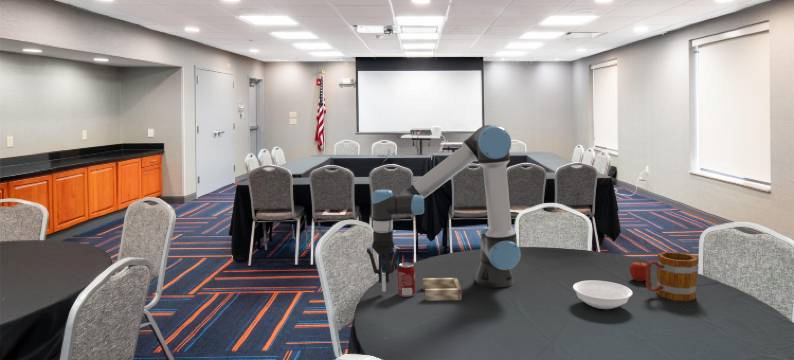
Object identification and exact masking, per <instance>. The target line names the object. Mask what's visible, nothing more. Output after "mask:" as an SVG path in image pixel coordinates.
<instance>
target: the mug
mask: <svg viewBox="0 0 794 360" xmlns="http://www.w3.org/2000/svg"><path fill="white" fill-rule="evenodd" d="M698 263H699V258H697V257H696V256H695V255H693V254H688V253H683V252H681V251H680V252H679V251H678V252H677V251H663V252H660V253H657V261H655V260H650V261H648V262H647V263H646V264H647V265H646V280H645V286H646V288H647V290H648V291H650V292H655V293H656V294H657V295H658V296H659V297H661V298H665V299H668V300H671V301H677V302H678V301H680V302H691V301H693V300H695V299H697V294H696V286H697V282H698V275H697V274H698V273H697V272H698ZM652 265H655V266H656V267H657V268H656V269H657V270H656V286H654V287H651V279H652V278H651V273H650V268H651V267H652Z"/></svg>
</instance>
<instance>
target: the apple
mask: <svg viewBox="0 0 794 360" xmlns="http://www.w3.org/2000/svg"><path fill="white" fill-rule="evenodd" d="M646 265H647V263H646V262H641V261H635V262H632V263H631V264H630V266H629V274H630V276H631V278H632V279H633V280H634V281H637V282H646ZM651 272H652V269H651V268H650V274H651Z"/></svg>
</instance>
